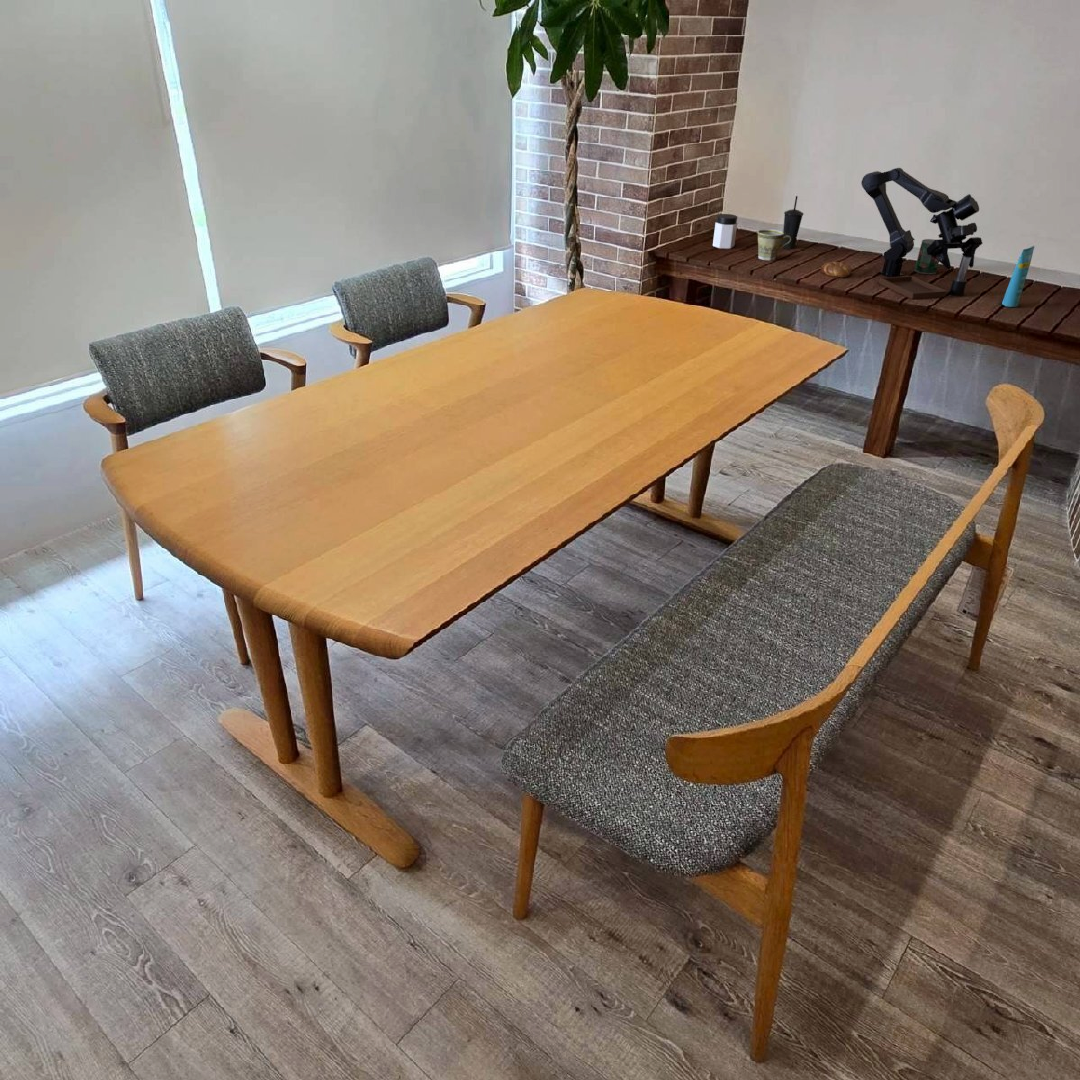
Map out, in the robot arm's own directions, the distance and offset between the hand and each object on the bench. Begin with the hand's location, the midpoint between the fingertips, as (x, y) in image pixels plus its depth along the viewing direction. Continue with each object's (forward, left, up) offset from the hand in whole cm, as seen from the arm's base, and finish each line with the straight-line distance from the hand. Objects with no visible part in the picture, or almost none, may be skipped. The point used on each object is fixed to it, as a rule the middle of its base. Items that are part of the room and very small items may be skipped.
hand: (960, 267), depth 290 cm
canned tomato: (-27, +8, -9) cm, 29 cm away
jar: (-78, -52, -9) cm, 94 cm away
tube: (+16, +10, -9) cm, 21 cm away
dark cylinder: (+1, 0, -9) cm, 9 cm away
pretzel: (-31, -28, -9) cm, 42 cm away
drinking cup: (-71, -26, -9) cm, 76 cm away
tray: (-7, -13, -9) cm, 17 cm away
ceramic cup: (-56, -42, -9) cm, 70 cm away
